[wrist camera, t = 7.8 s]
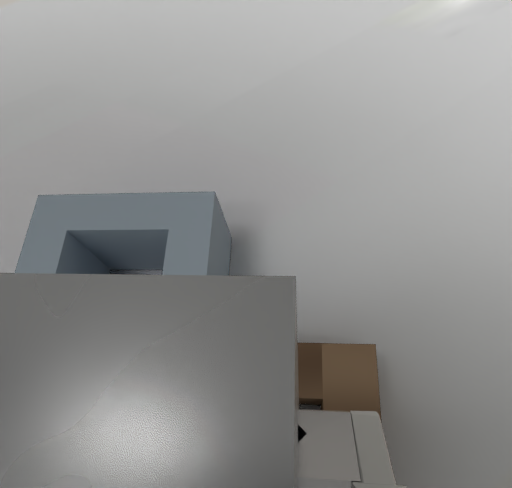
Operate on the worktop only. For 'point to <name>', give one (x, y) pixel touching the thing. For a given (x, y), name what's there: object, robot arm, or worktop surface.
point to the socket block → (339, 376)
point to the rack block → (127, 234)
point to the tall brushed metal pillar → (148, 381)
